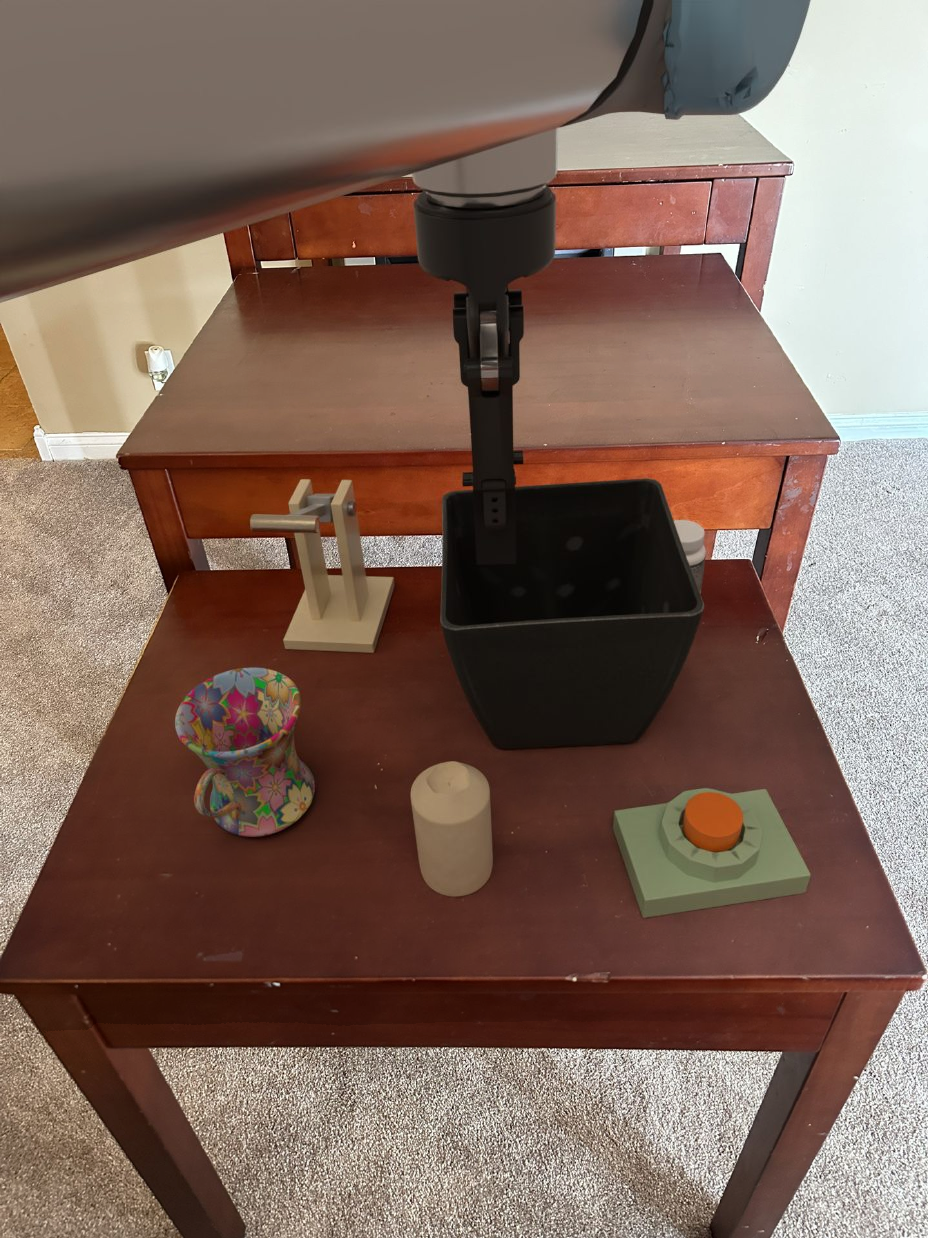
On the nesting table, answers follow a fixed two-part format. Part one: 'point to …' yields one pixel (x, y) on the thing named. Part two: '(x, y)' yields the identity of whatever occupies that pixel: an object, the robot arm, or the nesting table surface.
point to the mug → (247, 750)
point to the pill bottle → (693, 547)
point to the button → (712, 821)
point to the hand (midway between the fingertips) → (496, 557)
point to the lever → (297, 517)
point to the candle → (453, 828)
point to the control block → (707, 857)
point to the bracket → (336, 585)
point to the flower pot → (570, 613)
